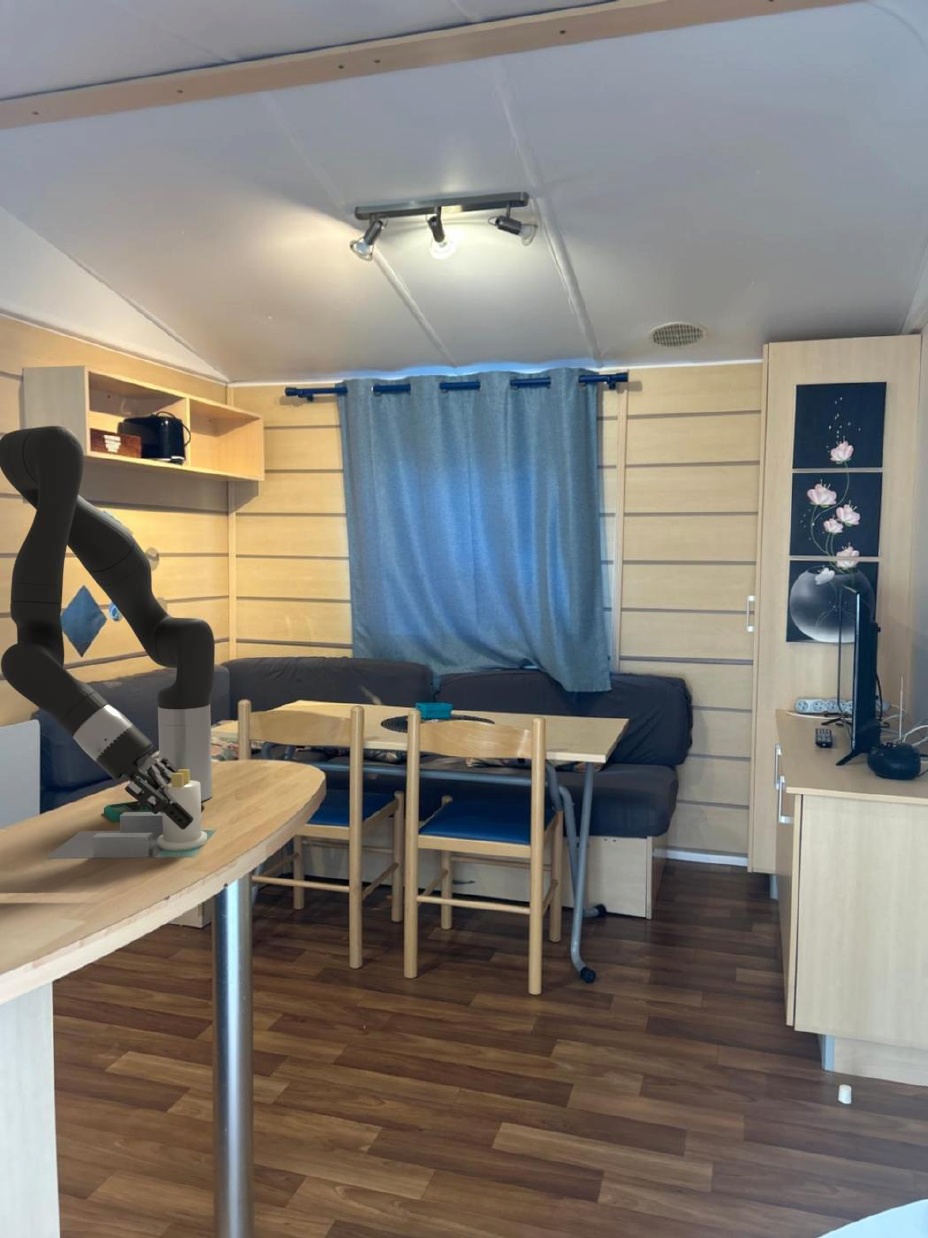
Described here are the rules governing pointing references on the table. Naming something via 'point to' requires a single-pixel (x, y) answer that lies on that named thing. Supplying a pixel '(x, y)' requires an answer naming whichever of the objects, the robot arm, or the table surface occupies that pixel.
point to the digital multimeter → (123, 809)
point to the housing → (123, 840)
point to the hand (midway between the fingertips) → (194, 818)
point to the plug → (190, 800)
